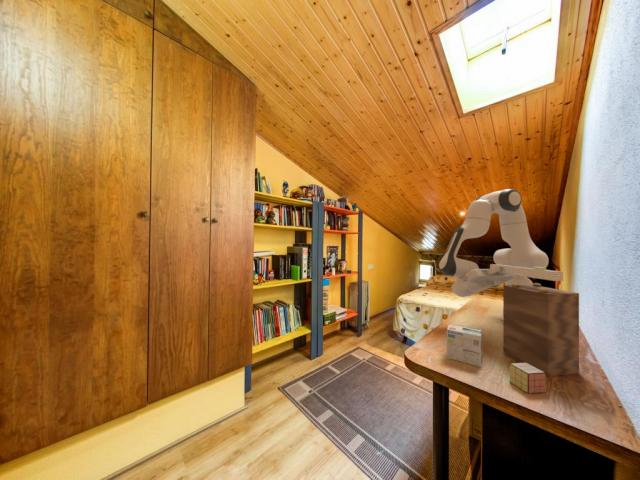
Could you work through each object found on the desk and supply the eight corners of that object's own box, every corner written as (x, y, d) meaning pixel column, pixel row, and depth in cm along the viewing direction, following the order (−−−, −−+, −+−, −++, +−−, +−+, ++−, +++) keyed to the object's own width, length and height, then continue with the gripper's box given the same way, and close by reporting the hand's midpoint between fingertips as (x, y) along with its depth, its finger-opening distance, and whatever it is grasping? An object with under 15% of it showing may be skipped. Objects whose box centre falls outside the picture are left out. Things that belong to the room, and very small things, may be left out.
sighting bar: (496, 271, 99) (496, 262, 99) (562, 280, 75) (562, 269, 75) (490, 271, 98) (490, 262, 98) (555, 281, 75) (555, 269, 75)
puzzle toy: (525, 380, 70) (525, 362, 70) (546, 392, 65) (546, 372, 65) (509, 381, 70) (509, 363, 70) (528, 394, 64) (528, 373, 64)
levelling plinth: (530, 351, 89) (530, 281, 89) (579, 373, 74) (578, 290, 74) (503, 353, 87) (503, 282, 88) (547, 376, 73) (547, 291, 73)
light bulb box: (482, 359, 83) (482, 329, 83) (481, 368, 77) (482, 336, 77) (448, 351, 89) (448, 323, 89) (446, 358, 84) (446, 328, 84)
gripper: (457, 274, 105) (479, 261, 93) (495, 273, 108) (521, 260, 97) (462, 287, 102) (485, 275, 90) (502, 286, 105) (529, 274, 93)
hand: (504, 268), depth 93 cm, fingers closed on sighting bar, 3 cm apart
